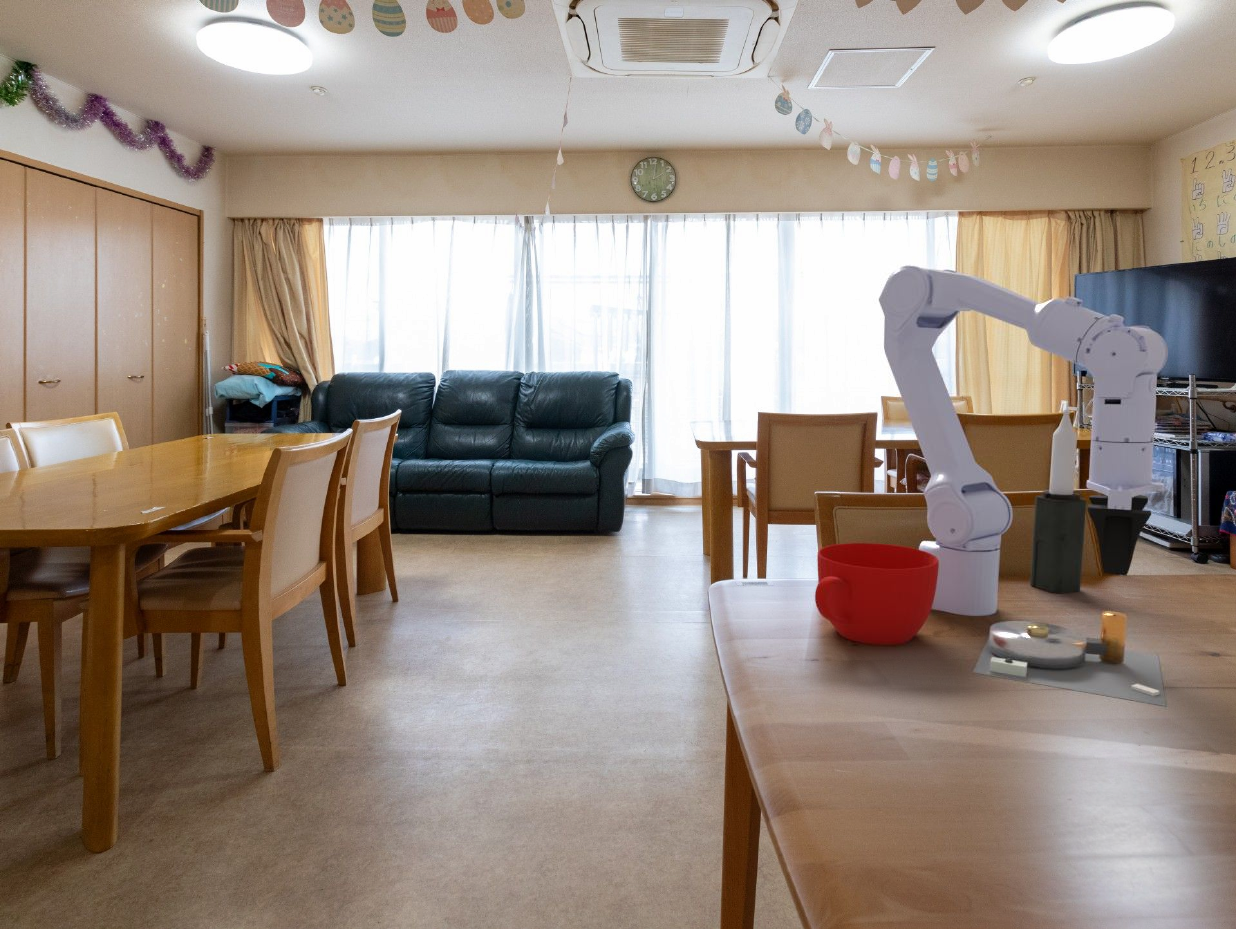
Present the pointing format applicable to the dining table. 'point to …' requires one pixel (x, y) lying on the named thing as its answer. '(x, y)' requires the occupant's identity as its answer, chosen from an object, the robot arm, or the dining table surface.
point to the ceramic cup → (876, 590)
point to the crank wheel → (1058, 642)
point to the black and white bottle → (1059, 520)
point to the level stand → (1086, 675)
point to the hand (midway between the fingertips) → (1114, 566)
